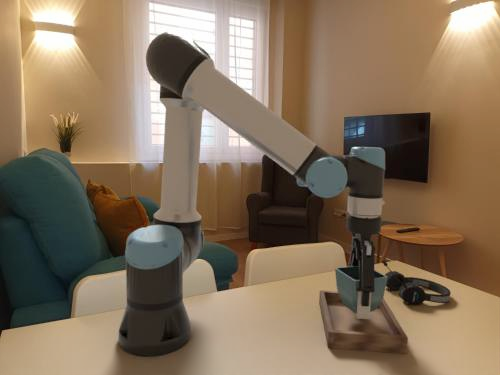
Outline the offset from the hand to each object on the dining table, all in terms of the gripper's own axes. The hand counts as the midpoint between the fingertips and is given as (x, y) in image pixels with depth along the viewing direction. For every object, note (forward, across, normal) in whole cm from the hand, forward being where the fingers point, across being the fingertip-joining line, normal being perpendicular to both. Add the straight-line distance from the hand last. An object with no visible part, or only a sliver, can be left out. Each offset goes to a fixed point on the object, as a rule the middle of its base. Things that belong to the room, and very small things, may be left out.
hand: (358, 307), depth 88 cm
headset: (+5, +20, -20) cm, 29 cm away
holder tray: (+4, 0, 0) cm, 4 cm away
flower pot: (0, 0, 0) cm, 0 cm away
